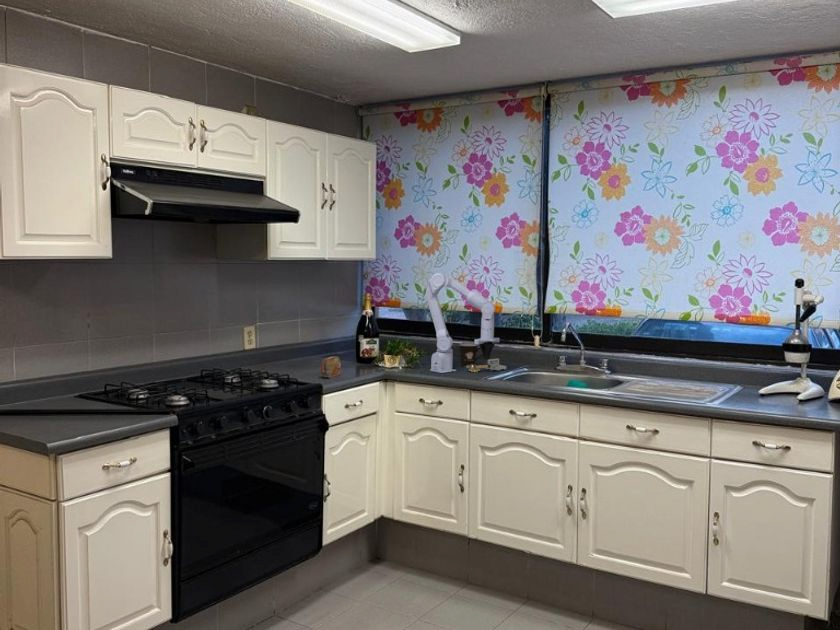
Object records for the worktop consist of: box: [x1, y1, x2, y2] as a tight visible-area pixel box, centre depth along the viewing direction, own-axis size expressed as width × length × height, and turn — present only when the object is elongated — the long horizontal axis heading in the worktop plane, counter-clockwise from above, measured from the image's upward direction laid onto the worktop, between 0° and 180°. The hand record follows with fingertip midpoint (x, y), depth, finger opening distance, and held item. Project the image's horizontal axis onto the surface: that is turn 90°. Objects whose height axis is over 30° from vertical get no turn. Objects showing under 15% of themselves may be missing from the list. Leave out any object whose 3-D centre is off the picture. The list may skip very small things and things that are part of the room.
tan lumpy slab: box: [321, 355, 343, 379], centre depth 319 cm, size 15×3×8 cm, turn 161°
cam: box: [465, 363, 491, 373], centre depth 341 cm, size 11×6×3 cm, turn 113°
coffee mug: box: [458, 343, 483, 367], centre depth 356 cm, size 12×9×10 cm
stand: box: [486, 358, 507, 371], centre depth 348 cm, size 8×5×4 cm, turn 134°
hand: (486, 359), depth 337 cm, fingers closed
